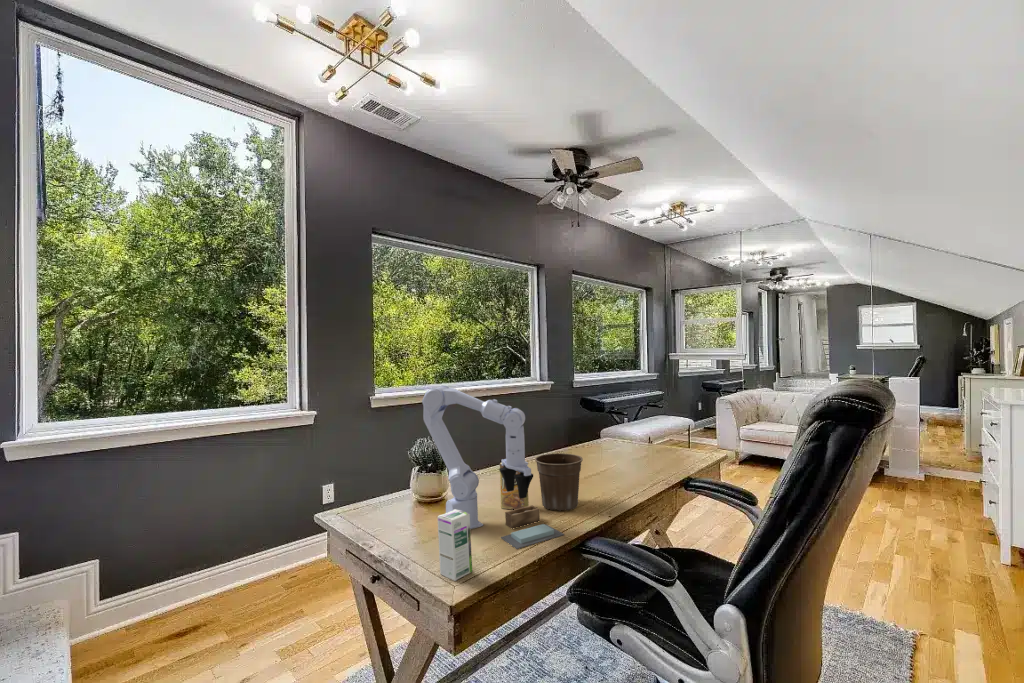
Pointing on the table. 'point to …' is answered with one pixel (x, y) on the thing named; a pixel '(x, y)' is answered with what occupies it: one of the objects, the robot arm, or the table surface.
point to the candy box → (511, 495)
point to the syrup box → (454, 544)
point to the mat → (520, 545)
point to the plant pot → (559, 480)
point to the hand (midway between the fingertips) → (516, 494)
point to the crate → (522, 516)
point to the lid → (532, 533)
